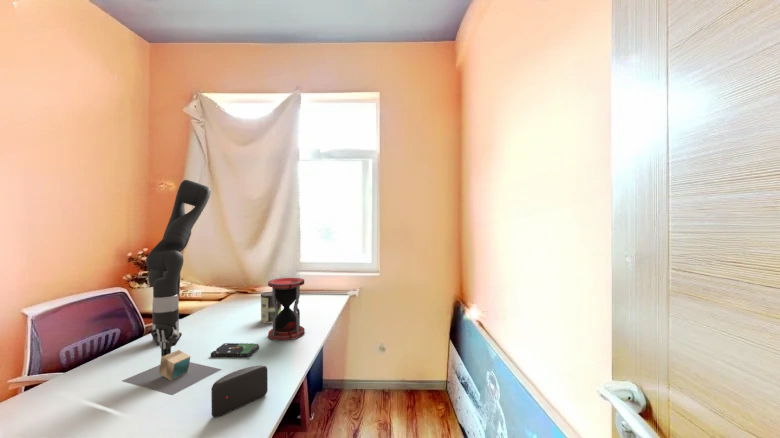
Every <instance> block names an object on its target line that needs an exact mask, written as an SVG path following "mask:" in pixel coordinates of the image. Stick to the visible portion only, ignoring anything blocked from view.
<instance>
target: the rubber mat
mask: <svg viewBox="0 0 780 438" xmlns="http://www.w3.org/2000/svg"><path fill="white" fill-rule="evenodd" d="M159 370H160V364H158V365H156V366H154V367H151V368H149V369H146V370H143V371H142V372H139V373H137V374H135V375H132V376H130V377H127V378H125V379H123V380H121V382H124V383H128V384H132V385H134V386H135V385H136V386H139V387H143V388H145V389H149V390H153V391H157V392H159V393H164V394H166V395H171V396H174V395H175V394H177V393H179V392H181V391H184V390H185V389H187V388H189V387H191V386H193V385H194V384H197V383H198V382H200V381H202V380H204V379H206V378H208V377H210V376H212V375H214V374H216V373H218V372H219V371H221V370H222V369H221V368H218V367H214V366H210V365H204V364H200V363H195V362H191V361H190V362H189V369H188V373H186V374H184V375H181V376H179V377H177V378H175V379H173V380H169V379H168V378H166V377H164V376H162V375H161V374H159Z"/></svg>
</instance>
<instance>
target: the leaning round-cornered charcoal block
mask: <svg viewBox="0 0 780 438" xmlns="http://www.w3.org/2000/svg"><path fill="white" fill-rule="evenodd" d="M268 380H269V379H268V367H267V366H266V365H264V364H258V365H252V366H248V367H244V368H241V369H238V370H235V371H233V372H230V373H228V374H226V375H224V376H222V377H220V378H219V379H218V380H216V381H215V382H214V383H213V384H212V386H211V393H210V394H211V416H212V417H214V418H218V417H221V416H223V415H225V414H227V413H229V412H232V411H234V410H236V409H238V408H241V407H243V406H245V405H247V404H250V403H252V402H255V401H256V400H258V399H260V398H263V397H265V395H266V394H267V393H268Z"/></svg>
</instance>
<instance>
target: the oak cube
mask: <svg viewBox="0 0 780 438" xmlns="http://www.w3.org/2000/svg"><path fill="white" fill-rule="evenodd" d="M160 358H161V359H160V364H159V365H160V370H159V374H161V375H162V376H164V377H166V378H168V379H169V380H173V379H175V378H177V377H179V376H181V375H184V374H186V373H188V369H189V362H191V355H189V354H187V353H185V352H184V351H181V350H180V349H177V350H175V351H171V353H170V354H167V355H165V356H162V357H160Z"/></svg>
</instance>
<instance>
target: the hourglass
mask: <svg viewBox="0 0 780 438" xmlns="http://www.w3.org/2000/svg"><path fill="white" fill-rule="evenodd" d="M303 285H305V278H300V277H279V278H274V279H270V280H269V281H268V282H267V286H268V287H269V288H272V290H271V292H272V303H273V306H274V307H275V315H274V316H273V323H272V328H271V329H270V330H269V331H268V335H267V336H268V338H269V339H270V340H273V341H290V340H295V339H298V338H300V337H302V336H303V335H305V330H306V329H305V327H304V326H301V323H300V322H301V317H300V316H301V315H300V314H301V313H300V311H301V310H300V309H299V307H298V306H299V302H300V301H299V300H300V297H301V295H300V291H301V289H300V287H301V286H303ZM275 299H276V302H277V305H276V303H275ZM293 303H294V304H293ZM280 304H281V307H283V309H281V312H280V313H279V314H278V311H279V309H280ZM292 305H293V307H292V308H293V309H291V308H290V306H292Z"/></svg>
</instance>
